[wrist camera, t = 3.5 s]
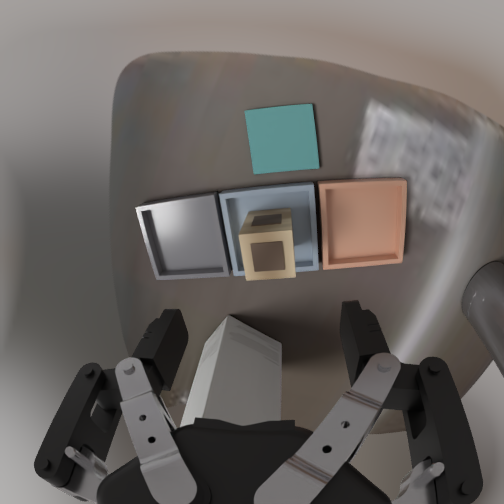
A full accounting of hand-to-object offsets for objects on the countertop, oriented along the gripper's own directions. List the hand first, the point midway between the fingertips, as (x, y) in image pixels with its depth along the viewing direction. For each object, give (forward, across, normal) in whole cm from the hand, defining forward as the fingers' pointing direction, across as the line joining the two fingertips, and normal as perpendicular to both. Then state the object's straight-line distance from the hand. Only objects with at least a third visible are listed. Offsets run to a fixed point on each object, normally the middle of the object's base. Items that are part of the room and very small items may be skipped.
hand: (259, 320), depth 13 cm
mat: (+15, -2, -8) cm, 17 cm away
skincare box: (+15, +4, +16) cm, 23 cm away
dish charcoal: (+15, +9, +1) cm, 18 cm away
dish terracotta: (+15, -9, +1) cm, 18 cm away
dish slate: (+15, 0, +1) cm, 15 cm away
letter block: (+15, 0, +1) cm, 15 cm away
